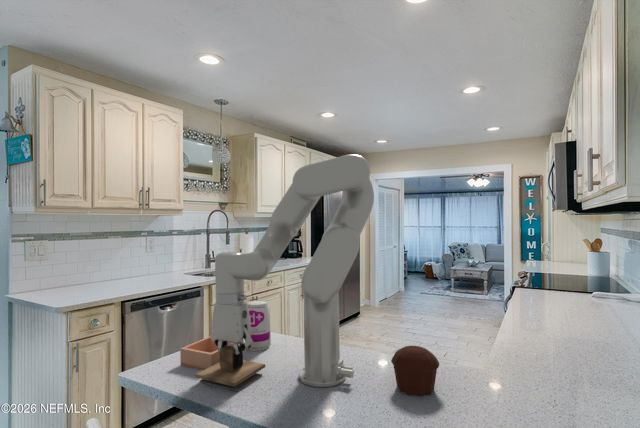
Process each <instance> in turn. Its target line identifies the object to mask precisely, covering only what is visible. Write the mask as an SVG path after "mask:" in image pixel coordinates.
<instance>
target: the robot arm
mask: <svg viewBox="0 0 640 428" xmlns="http://www.w3.org/2000/svg"><path fill="white" fill-rule="evenodd" d="M370 176H371V166H370V164H369V162H368V160H367V159H366V158H365V157H363V156H362V155H359V154H355V153H353V154H351V153H350V154H344V155H340V156H338V157H334V158H330V159H327V160H326V159H325V160H323V161H318V162H315V163H311V164H307V165H304V166H302V167H300V168H298V169H297V170H296V171H295V172H294V174H293V177H292V183H291V184H290V186H289V188H288V189H287V191H286V192H285V194H284V195H283V197H282V198H281V200H280V202H279V203H278V205H276V207H275V209H274V210H273V212H272V214H271V217H270V219H269V224H268V226H267V228H266V230H265V233H264V235H263V236H262V237H261V239H260V241H259V242H258V243H257V245H256V247H255V249H254V250H253V251H252V252H249V253H248V252H247V253H242V252H239V251H224V252H220V253H217V254H216V255H215V258H214V274H215V275H214V277H215V279H214V280H215V281H214V283H215V303H214V305H213V310H212V318H211V319H212V323H211V325H212V327H211V329H212V332H211V334H210V335H209V337H210V338H211V339H212V340H213V341H214V342H215V344H216V346H217V347H218V348H217V349H218V351H220V348H222V347H224V346H226V345H228V342H233V344H234V350H235V354H233V362H234V369H238V368H239V367H241V366H242V365H243V360H244V352H245V351H246V349H248V348H247V347H248V346H249V345H251V344H252V343H253V341H252V339H251V324H250V315H249V310H248V305H247V302H245V301H247V299H248V296H247V295H245V280H246V281H253V282H255V281H256V282H257V281H261V280H263V279H264V278H266V277H267V276H268V275H269V274H270V273H271V272H272V271H273V269H274V267H275V266H276V264H277V263H278V261H279V260H280V259H281V257H282V255H283V253H284V251H286V249H287V248H288V246H289V244H290V243H291V241H292V240H293V239H294V238H295V237H296V236H297V234H298V232H299V231H300V230H301V228H302V226H303V225H304V223H305V222H306V220H307V218H308V217H309V216H310V214H311V212H312V211H313V209H314V208H315V206H316V205H317V203H318V202H319V200H320V199H321V197H324V196H327V195H332V194H336V193H341V192H342V200H341V201H340V203H339V206H338V208H337V209H336V212H335V215H334V216H333V218H332V220H331V221H330V224H329V225H328V227H327V229H326V230H325V231H324V233H323V234H322V237H321V240H320V242H319V243H318V246H317V247H316V249H315V251H314V253H313V255H312V257H311V260H310V261H309V263H308V264H307V265H306V267H305V269H304V270H303V273H302V277H301V289H302V292H303V340H304V341H303V348H304V353H303V354H304V367H303V368H302V369H300V371H299V373H298V378H299V381H300V382H302V383H303V384H304V385H306V386H310V387H315V388H328V387H329V388H330V387H334V386H337V385H339V384H342V383H343V382H344V381H345V379H346V378H350V379H353V378H354V376H355V371H354V370H353V366H347V365H345V364H344V359H343V358H340V357H341V354H340V352H341V351H340V348H341V347H340V305H339V303H340V302H339V301H340V299H339V298H340V297H339V296H340V295H339V291H340V290H341V287H342V286H343V284H344V282H345V280H346V278H347V276H348V274H349V272H350V270H351V268H352V266H353V264H354V262H355V260H356V258H357V255H358V253H359V251H360V236H361V234H362V232H363V229H365V226H366V223H367V221H368V219H369V217H370V215H371V214H372V213H371V212H372V210H373V206H374V202H375V193H374V191H375V190H374V187H373V184H372V181H371V180H370ZM238 344H239V345H240V347H239V345H238Z"/></svg>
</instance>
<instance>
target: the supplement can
mask: <svg viewBox="0 0 640 428" xmlns="http://www.w3.org/2000/svg"><path fill="white" fill-rule="evenodd" d="M246 303H247V305H248V310H249V315H250V324H251V339H252V341H253V343H252V344H251V345H249V346H248V347H247V348H246V349H247V350H249V351H252V352H259V351H265V350H268V349H269V347H270V346H271V345H272V344H271V343H272V342H271V341H272V340H271V306H270V304H269V301H268V300H265V299H255V300H250V301H247V302H246Z"/></svg>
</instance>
